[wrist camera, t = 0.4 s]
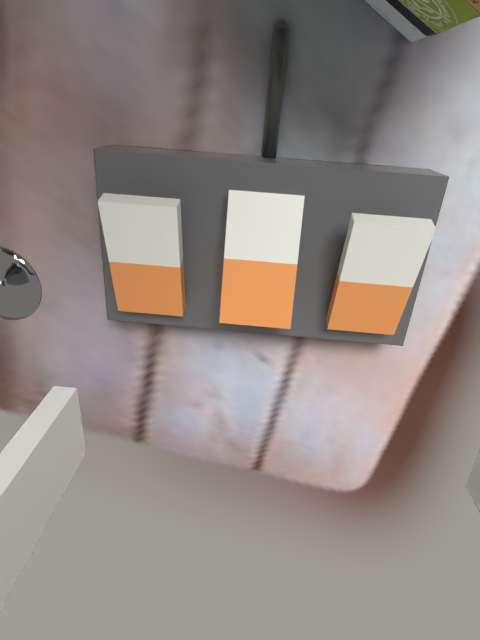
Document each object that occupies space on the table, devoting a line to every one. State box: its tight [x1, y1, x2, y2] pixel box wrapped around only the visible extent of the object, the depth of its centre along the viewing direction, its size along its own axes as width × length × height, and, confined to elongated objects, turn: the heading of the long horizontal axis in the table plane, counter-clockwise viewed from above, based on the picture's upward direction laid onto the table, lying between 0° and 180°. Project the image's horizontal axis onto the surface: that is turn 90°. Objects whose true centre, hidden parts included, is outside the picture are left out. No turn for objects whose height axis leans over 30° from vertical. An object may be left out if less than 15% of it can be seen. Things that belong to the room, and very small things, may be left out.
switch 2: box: [326, 213, 436, 335], centre depth 30 cm, size 9×5×2 cm, turn 176°
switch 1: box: [98, 193, 186, 316], centre depth 30 cm, size 9×5×2 cm, turn 176°
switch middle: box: [219, 190, 305, 329], centre depth 30 cm, size 9×5×2 cm, turn 177°
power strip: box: [93, 20, 449, 346], centre depth 31 cm, size 22×24×4 cm
